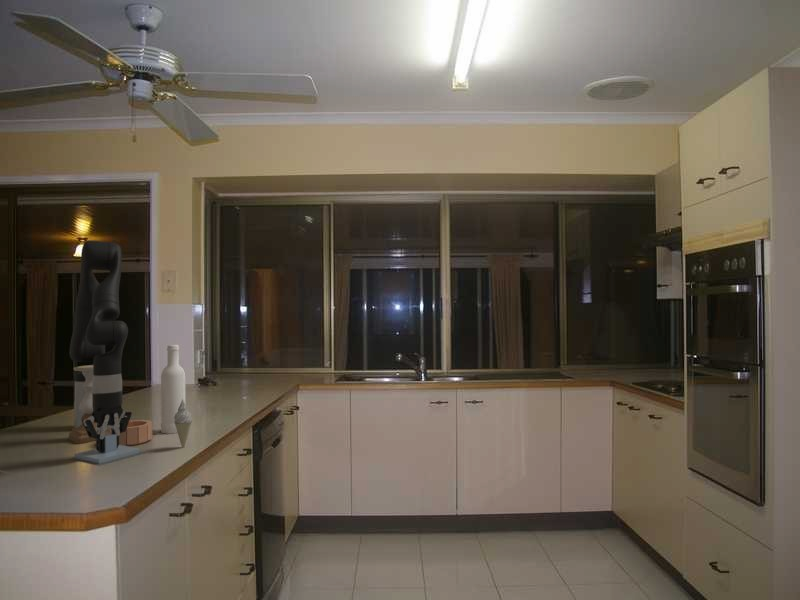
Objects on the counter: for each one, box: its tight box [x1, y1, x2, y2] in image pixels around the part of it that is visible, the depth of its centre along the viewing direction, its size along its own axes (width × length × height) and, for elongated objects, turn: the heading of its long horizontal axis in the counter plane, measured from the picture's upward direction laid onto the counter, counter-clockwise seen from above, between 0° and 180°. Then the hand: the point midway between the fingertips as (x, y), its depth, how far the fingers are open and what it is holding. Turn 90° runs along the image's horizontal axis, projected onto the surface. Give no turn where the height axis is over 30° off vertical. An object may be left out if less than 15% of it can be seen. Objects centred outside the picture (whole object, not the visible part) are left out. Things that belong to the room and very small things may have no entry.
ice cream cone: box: [174, 399, 193, 448], centre depth 157 cm, size 5×5×15 cm
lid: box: [73, 433, 141, 464], centre depth 149 cm, size 12×12×6 cm
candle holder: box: [68, 364, 109, 445], centre depth 172 cm, size 11×11×24 cm
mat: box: [67, 451, 146, 467], centre depth 149 cm, size 15×14×1 cm
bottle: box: [160, 344, 187, 435], centre depth 181 cm, size 8×8×30 cm
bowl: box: [109, 419, 153, 447], centre depth 165 cm, size 12×12×6 cm
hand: (107, 449), depth 149 cm, fingers closed on lid, 3 cm apart
